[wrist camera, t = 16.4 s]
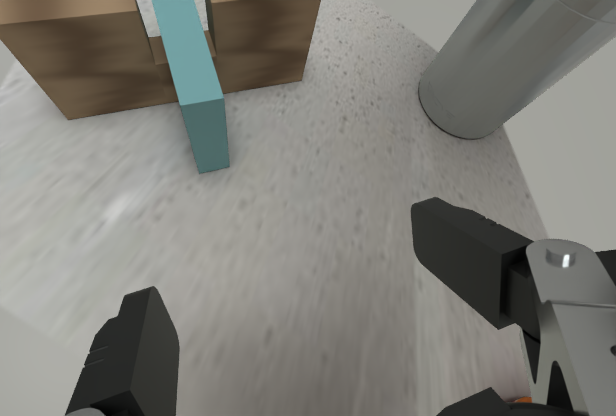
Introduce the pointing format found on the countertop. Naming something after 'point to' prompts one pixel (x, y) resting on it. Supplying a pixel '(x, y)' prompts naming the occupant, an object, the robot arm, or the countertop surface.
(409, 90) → the countertop surface
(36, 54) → the u-shaped wooden block
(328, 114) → the countertop surface
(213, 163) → the teal l-shaped piece
